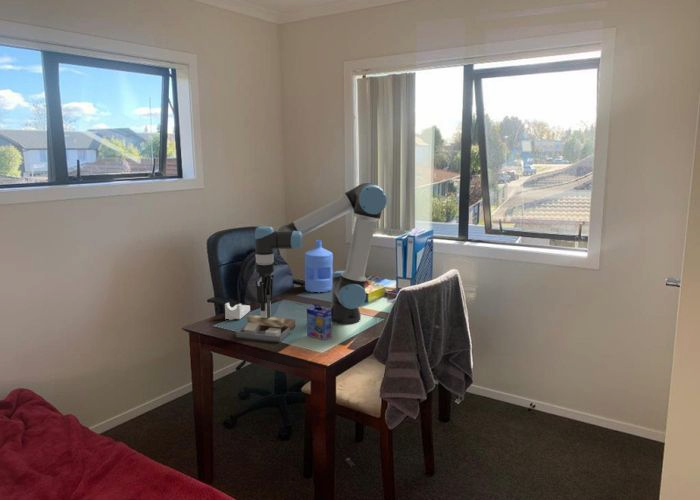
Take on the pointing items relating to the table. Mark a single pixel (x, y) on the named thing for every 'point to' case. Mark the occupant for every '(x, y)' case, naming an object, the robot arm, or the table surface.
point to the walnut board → (287, 324)
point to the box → (262, 335)
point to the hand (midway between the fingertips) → (265, 316)
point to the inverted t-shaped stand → (266, 321)
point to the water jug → (318, 269)
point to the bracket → (236, 311)
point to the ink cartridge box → (319, 322)
